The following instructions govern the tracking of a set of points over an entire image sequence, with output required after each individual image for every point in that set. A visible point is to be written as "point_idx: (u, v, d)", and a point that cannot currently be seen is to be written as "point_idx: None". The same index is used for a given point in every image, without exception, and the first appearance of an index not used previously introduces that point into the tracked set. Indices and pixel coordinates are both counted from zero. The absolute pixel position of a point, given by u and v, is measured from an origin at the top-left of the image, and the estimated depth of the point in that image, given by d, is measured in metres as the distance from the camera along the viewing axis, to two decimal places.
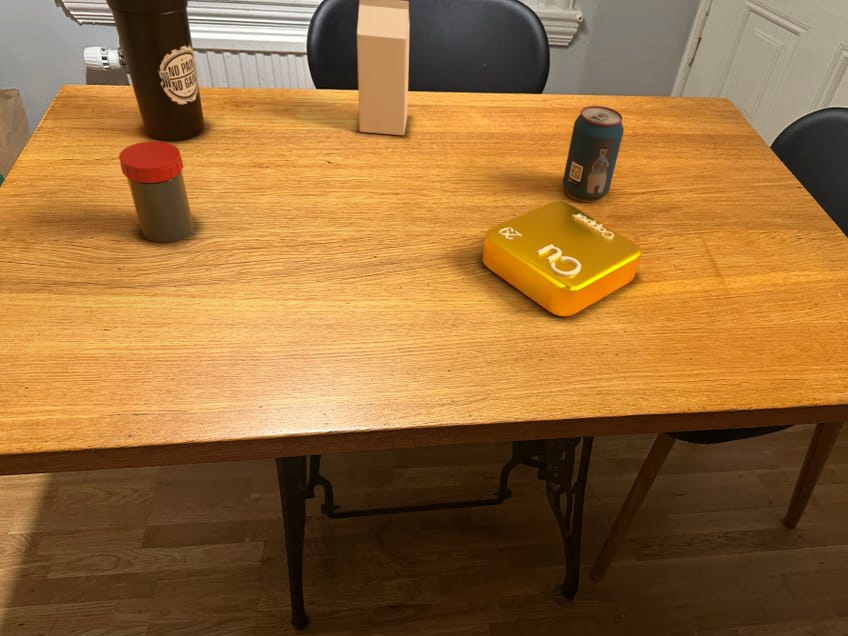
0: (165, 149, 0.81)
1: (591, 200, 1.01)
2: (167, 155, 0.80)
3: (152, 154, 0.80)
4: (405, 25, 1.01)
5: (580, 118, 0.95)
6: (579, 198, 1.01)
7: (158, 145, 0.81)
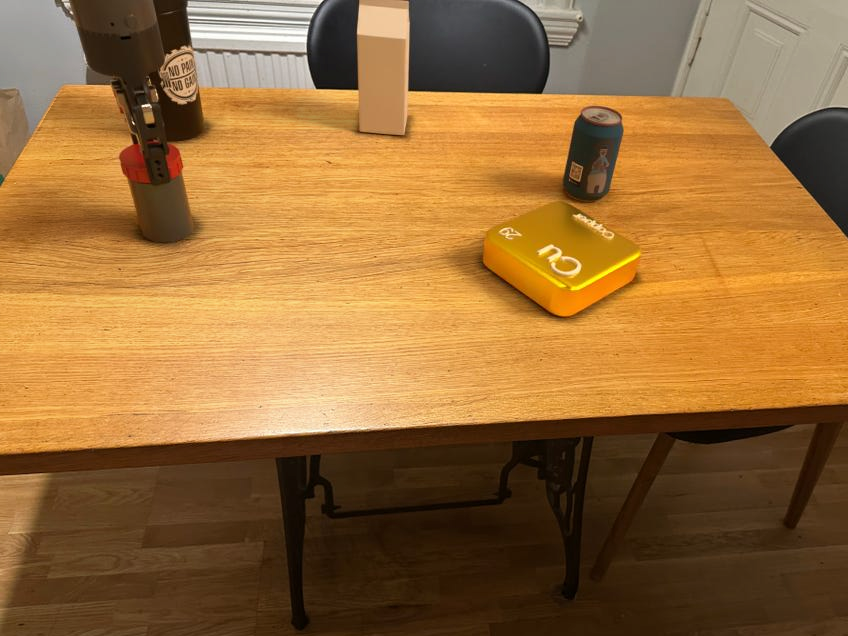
0: None
1: (591, 200, 1.01)
2: (167, 155, 0.80)
3: None
4: (405, 25, 1.01)
5: (580, 118, 0.95)
6: (579, 198, 1.01)
7: None
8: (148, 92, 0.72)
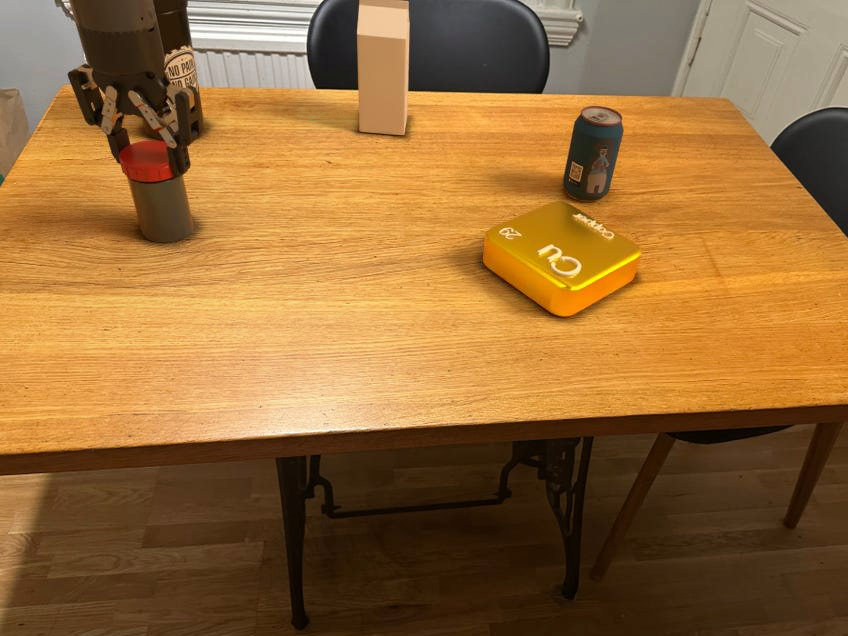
0: (154, 145, 0.81)
1: (591, 200, 1.01)
2: (165, 148, 0.81)
3: (152, 152, 0.80)
4: (405, 25, 1.01)
5: (580, 118, 0.95)
6: (579, 198, 1.01)
7: (142, 145, 0.81)
8: None
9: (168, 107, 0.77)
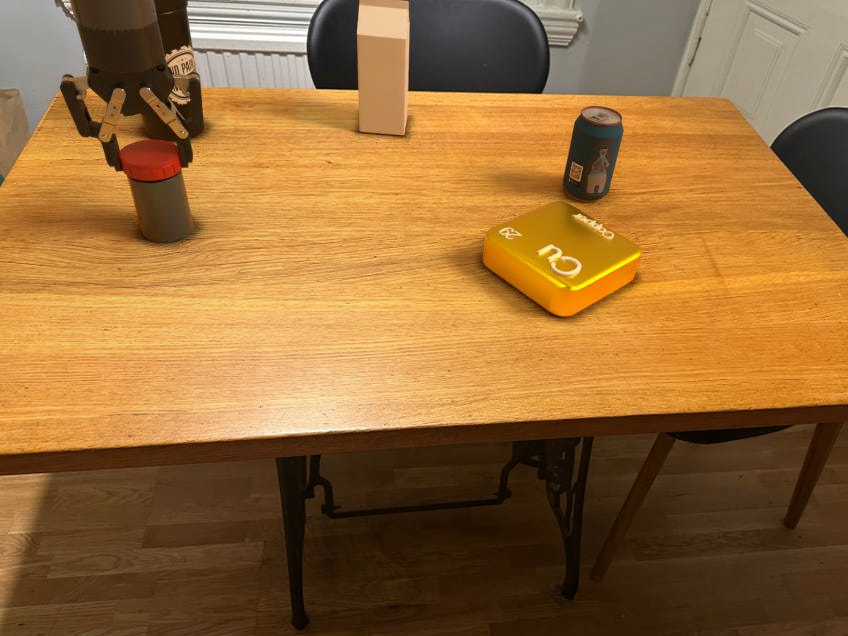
0: (144, 144, 0.81)
1: (591, 200, 1.01)
2: (158, 144, 0.81)
3: (151, 150, 0.80)
4: (405, 25, 1.01)
5: (580, 118, 0.95)
6: (579, 198, 1.01)
7: (132, 147, 0.80)
8: None
9: (166, 100, 0.78)
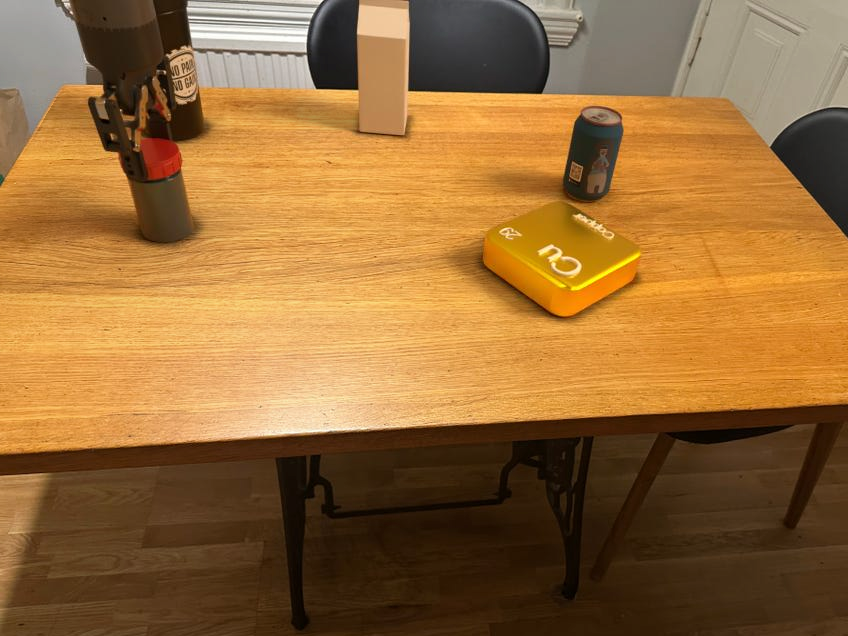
0: None
1: (591, 200, 1.01)
2: None
3: (147, 149, 0.80)
4: (405, 25, 1.01)
5: (580, 118, 0.95)
6: (579, 198, 1.01)
7: None
8: None
9: None
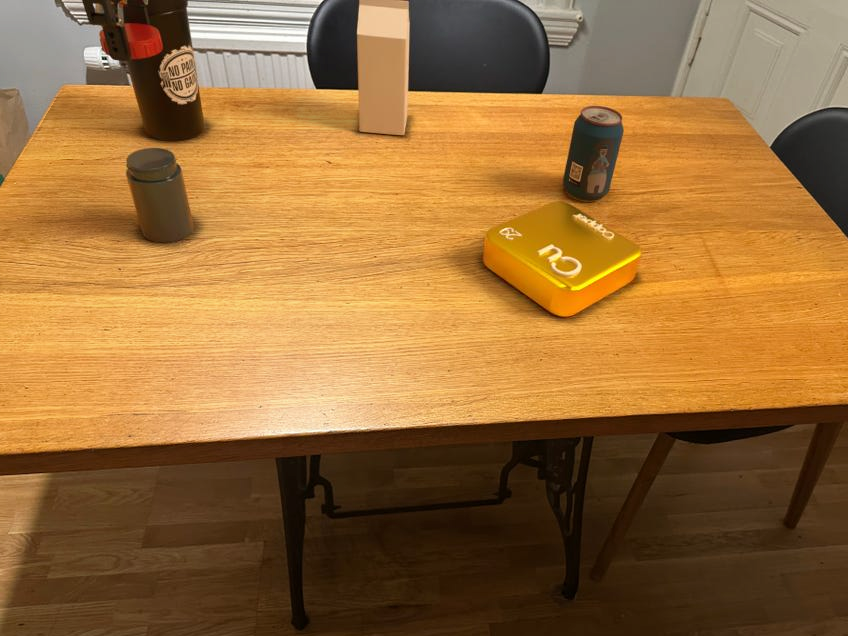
0: None
1: (591, 200, 1.01)
2: None
3: (127, 31, 0.81)
4: (405, 25, 1.01)
5: (580, 118, 0.95)
6: (579, 198, 1.01)
7: None
8: None
9: None
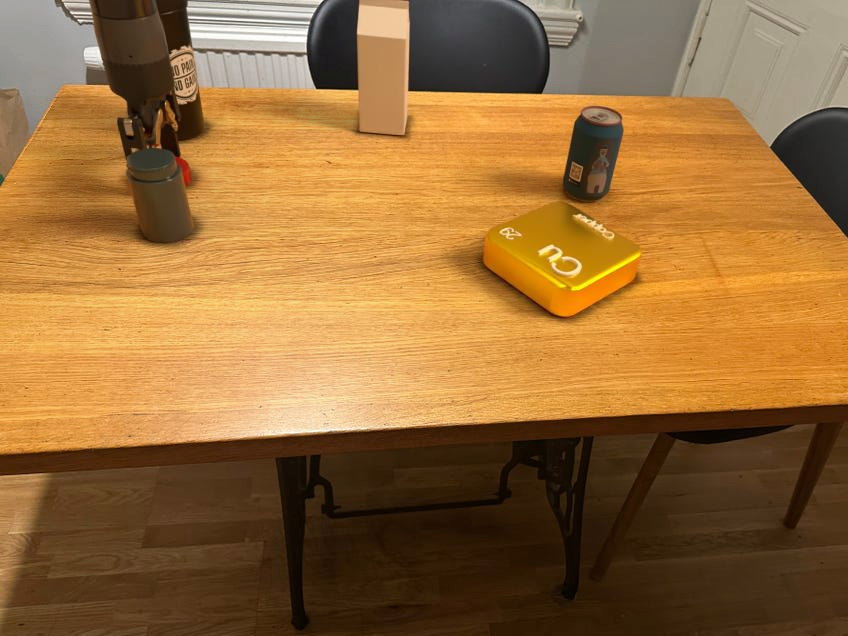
0: None
1: (591, 200, 1.01)
2: None
3: None
4: (405, 25, 1.01)
5: (580, 118, 0.95)
6: (579, 198, 1.01)
7: None
8: None
9: None
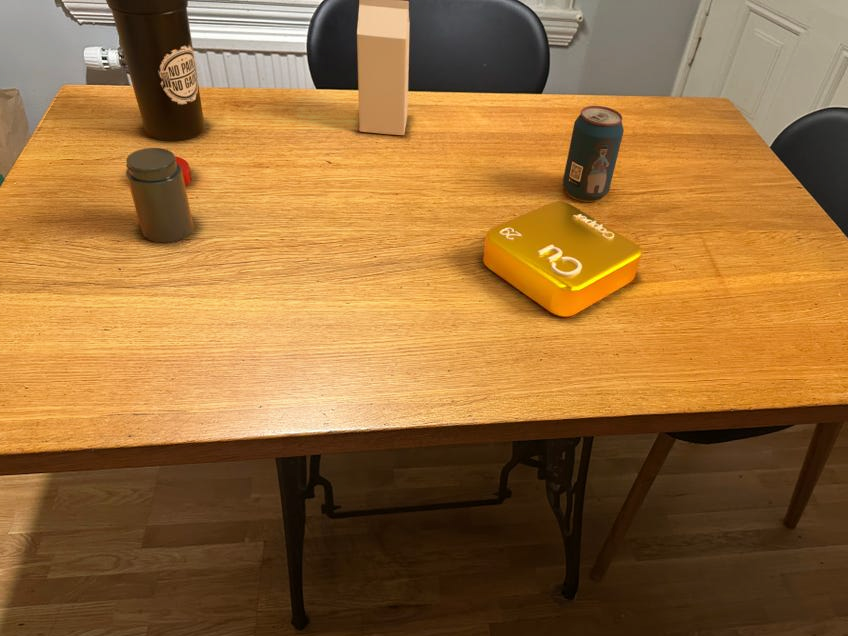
0: None
1: (591, 200, 1.01)
2: None
3: None
4: (405, 25, 1.01)
5: (580, 118, 0.95)
6: (579, 198, 1.01)
7: None
8: None
9: None
